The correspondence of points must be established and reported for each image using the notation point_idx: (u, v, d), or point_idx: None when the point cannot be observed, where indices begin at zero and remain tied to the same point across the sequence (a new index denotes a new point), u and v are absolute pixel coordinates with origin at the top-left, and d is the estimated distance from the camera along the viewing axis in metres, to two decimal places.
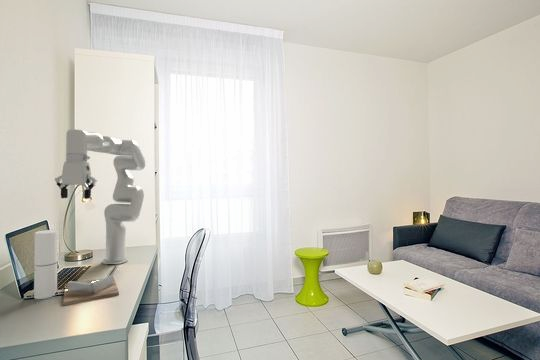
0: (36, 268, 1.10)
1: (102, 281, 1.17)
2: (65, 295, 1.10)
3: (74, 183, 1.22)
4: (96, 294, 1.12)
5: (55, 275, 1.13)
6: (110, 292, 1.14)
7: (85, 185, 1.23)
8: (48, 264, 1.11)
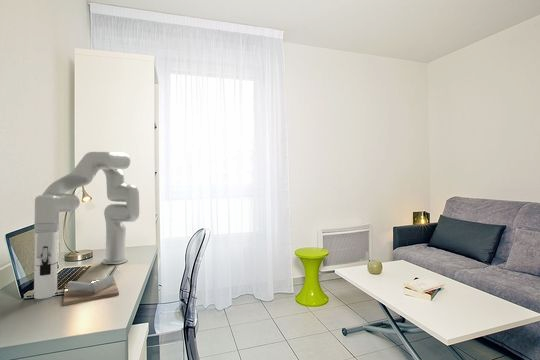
0: (36, 268, 1.10)
1: (102, 281, 1.17)
2: (65, 295, 1.10)
3: None
4: (96, 294, 1.12)
5: (55, 275, 1.13)
6: (110, 292, 1.14)
7: None
8: None
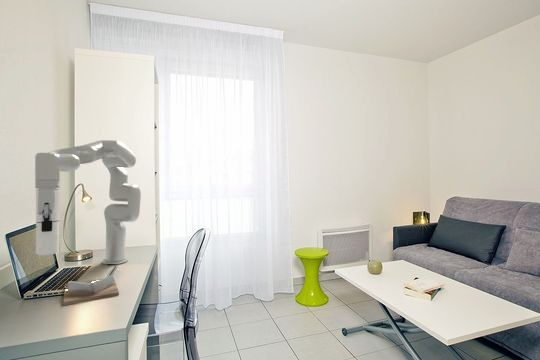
0: (38, 225, 1.10)
1: (102, 281, 1.17)
2: (65, 295, 1.10)
3: None
4: (96, 294, 1.12)
5: (57, 233, 1.14)
6: (110, 292, 1.14)
7: None
8: None
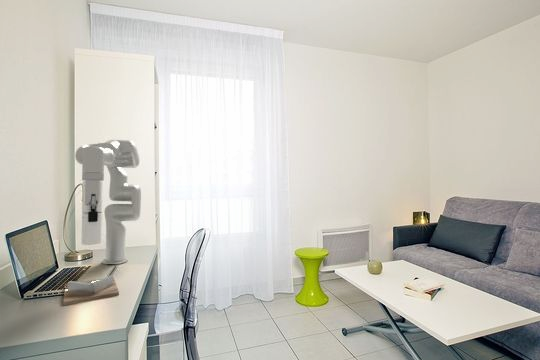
0: (84, 215, 1.14)
1: (102, 281, 1.17)
2: (65, 295, 1.10)
3: None
4: (96, 294, 1.12)
5: (101, 223, 1.18)
6: (110, 292, 1.14)
7: None
8: None
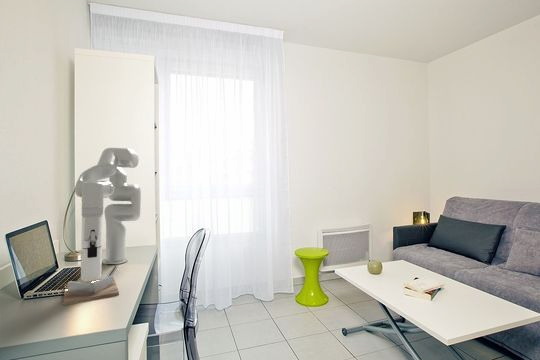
0: (83, 251, 1.15)
1: (102, 281, 1.17)
2: (65, 295, 1.10)
3: None
4: (96, 294, 1.12)
5: (100, 258, 1.18)
6: (110, 292, 1.14)
7: None
8: None
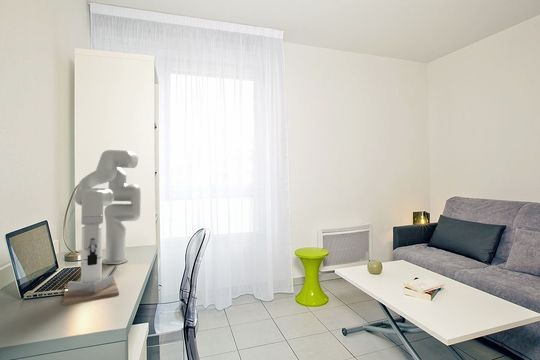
0: (83, 262, 1.15)
1: (102, 281, 1.17)
2: (65, 295, 1.10)
3: None
4: (96, 294, 1.12)
5: (100, 269, 1.19)
6: (110, 292, 1.14)
7: None
8: None
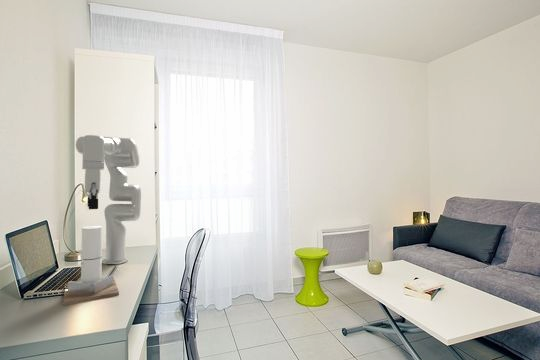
0: (83, 262, 1.15)
1: (102, 281, 1.17)
2: (65, 295, 1.10)
3: None
4: (96, 294, 1.12)
5: (100, 268, 1.19)
6: (110, 292, 1.14)
7: None
8: (94, 258, 1.16)
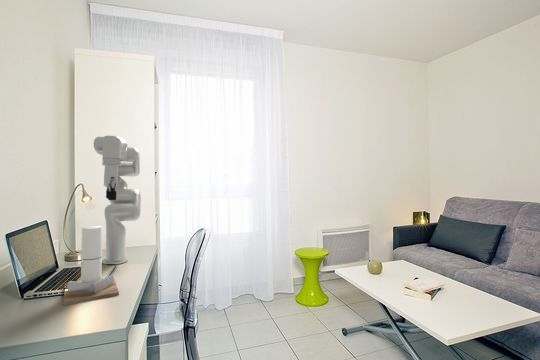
0: (83, 262, 1.15)
1: (102, 281, 1.17)
2: (65, 295, 1.10)
3: None
4: (96, 294, 1.12)
5: (100, 268, 1.19)
6: (110, 292, 1.14)
7: None
8: (94, 258, 1.16)
